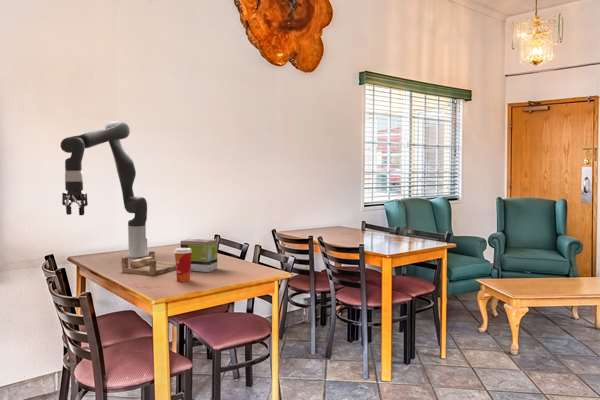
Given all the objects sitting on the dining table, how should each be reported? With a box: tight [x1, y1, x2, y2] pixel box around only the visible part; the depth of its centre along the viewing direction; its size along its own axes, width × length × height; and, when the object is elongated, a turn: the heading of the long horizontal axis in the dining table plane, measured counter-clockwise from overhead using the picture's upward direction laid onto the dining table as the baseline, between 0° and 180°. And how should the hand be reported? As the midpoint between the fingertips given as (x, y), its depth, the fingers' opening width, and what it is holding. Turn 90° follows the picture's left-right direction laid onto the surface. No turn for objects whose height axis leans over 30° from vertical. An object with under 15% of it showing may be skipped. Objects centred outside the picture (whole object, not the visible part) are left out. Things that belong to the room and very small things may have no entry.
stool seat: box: [121, 250, 176, 277], centre depth 233 cm, size 20×19×7 cm
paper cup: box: [173, 247, 192, 283], centre depth 211 cm, size 8×8×14 cm
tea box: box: [180, 237, 218, 273], centre depth 234 cm, size 15×10×15 cm, turn 71°
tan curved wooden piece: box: [129, 254, 156, 268], centre depth 234 cm, size 15×2×4 cm, turn 155°
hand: (75, 214), depth 227 cm, fingers open, 8 cm apart
